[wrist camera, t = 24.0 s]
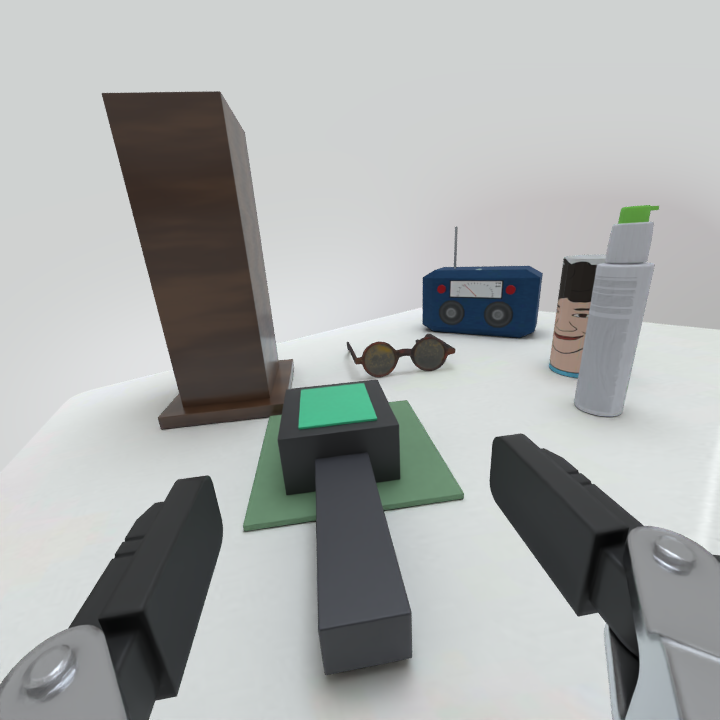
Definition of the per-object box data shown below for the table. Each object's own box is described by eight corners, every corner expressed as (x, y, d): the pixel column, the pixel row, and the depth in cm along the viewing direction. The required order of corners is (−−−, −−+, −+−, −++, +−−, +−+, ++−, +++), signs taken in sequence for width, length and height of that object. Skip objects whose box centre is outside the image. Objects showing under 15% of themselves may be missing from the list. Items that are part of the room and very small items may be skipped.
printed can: (543, 360, 51) (557, 256, 46) (595, 361, 49) (615, 253, 44) (556, 377, 45) (573, 259, 40) (615, 379, 43) (640, 256, 38)
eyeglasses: (356, 380, 48) (354, 346, 46) (344, 349, 62) (342, 322, 60) (454, 368, 50) (456, 336, 48) (421, 341, 64) (421, 315, 62)
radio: (420, 332, 70) (420, 228, 64) (433, 322, 77) (434, 228, 71) (532, 341, 60) (546, 219, 54) (536, 329, 67) (549, 220, 61)
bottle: (630, 418, 34) (680, 202, 28) (581, 415, 35) (618, 206, 29) (612, 399, 38) (652, 206, 32) (568, 397, 39) (598, 210, 33)
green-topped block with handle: (464, 648, 16) (470, 565, 14) (267, 687, 15) (247, 604, 13) (379, 423, 35) (377, 377, 34) (292, 434, 34) (285, 387, 33)
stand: (287, 415, 39) (238, 80, 29) (160, 429, 38) (60, 82, 27) (294, 367, 54) (263, 136, 44) (203, 376, 53) (149, 139, 42)
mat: (463, 498, 25) (464, 493, 25) (243, 531, 24) (242, 526, 23) (407, 403, 40) (407, 400, 40) (270, 419, 39) (269, 415, 38)
